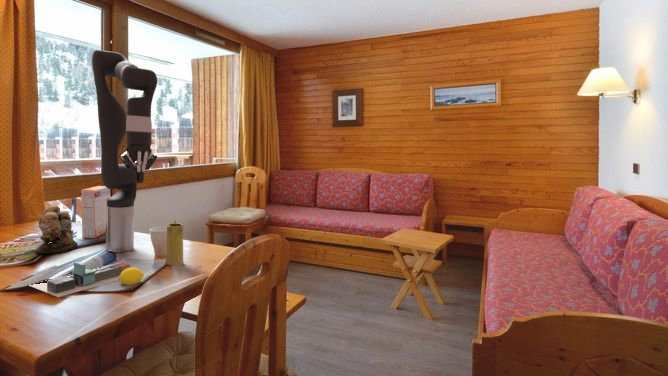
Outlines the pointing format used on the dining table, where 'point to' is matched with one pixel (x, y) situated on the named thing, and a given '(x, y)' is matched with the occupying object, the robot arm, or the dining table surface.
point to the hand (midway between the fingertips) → (138, 183)
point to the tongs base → (69, 283)
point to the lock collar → (84, 273)
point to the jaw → (100, 268)
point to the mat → (77, 288)
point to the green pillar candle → (174, 244)
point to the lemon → (131, 276)
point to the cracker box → (94, 211)
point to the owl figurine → (56, 231)
